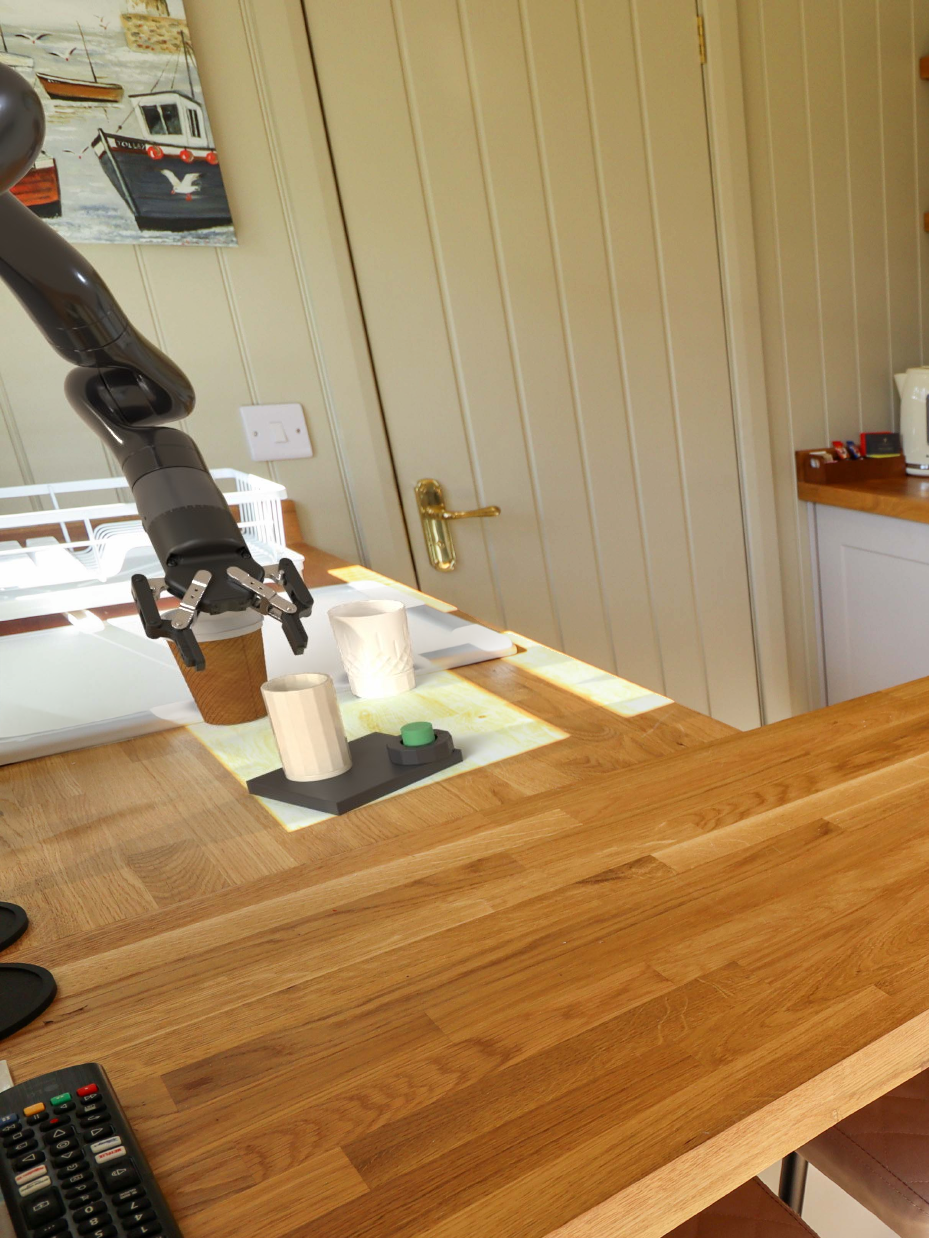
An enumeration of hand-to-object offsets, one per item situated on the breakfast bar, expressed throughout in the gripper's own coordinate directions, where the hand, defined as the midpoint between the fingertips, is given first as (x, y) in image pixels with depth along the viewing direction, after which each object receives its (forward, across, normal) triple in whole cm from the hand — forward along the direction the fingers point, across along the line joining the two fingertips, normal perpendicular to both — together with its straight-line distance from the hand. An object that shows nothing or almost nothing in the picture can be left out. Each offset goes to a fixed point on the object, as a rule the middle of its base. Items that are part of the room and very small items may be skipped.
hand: (252, 659), depth 109 cm
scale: (+16, +4, -2) cm, 17 cm away
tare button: (+15, +9, -6) cm, 19 cm away
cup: (+14, +1, -2) cm, 15 cm away
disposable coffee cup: (-3, +1, +18) cm, 18 cm away
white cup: (-2, +15, +16) cm, 22 cm away
